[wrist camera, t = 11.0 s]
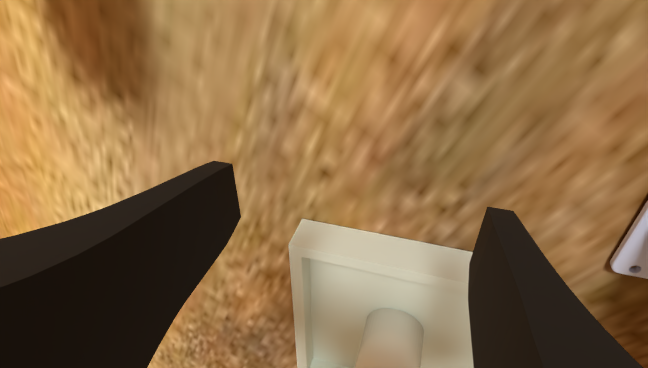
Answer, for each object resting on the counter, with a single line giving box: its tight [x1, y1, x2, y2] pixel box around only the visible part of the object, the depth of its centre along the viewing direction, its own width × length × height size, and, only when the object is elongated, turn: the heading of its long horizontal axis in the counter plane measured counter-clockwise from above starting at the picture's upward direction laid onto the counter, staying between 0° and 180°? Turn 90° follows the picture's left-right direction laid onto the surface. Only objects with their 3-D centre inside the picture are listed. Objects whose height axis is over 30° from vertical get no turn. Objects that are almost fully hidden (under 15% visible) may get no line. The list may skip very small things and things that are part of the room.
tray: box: [288, 219, 474, 368], centre depth 26 cm, size 14×15×2 cm
